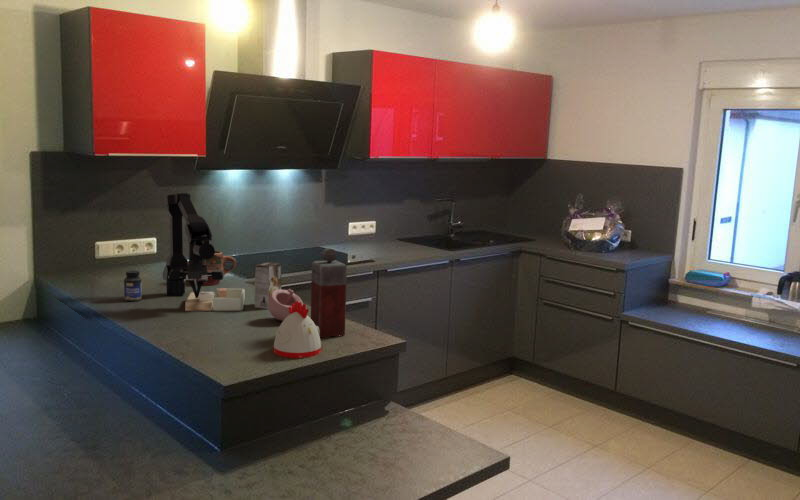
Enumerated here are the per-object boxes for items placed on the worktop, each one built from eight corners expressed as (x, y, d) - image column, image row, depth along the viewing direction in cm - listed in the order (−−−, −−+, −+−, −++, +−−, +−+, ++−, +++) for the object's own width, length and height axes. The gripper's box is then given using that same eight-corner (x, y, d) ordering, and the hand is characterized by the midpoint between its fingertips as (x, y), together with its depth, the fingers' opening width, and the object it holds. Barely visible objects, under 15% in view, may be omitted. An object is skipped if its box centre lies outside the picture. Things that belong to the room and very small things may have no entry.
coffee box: (267, 302, 262) (267, 261, 259) (281, 304, 259) (282, 263, 257) (253, 307, 253) (254, 264, 251) (268, 309, 251) (269, 266, 248)
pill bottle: (125, 302, 253) (124, 273, 251) (123, 299, 258) (122, 270, 256) (142, 301, 255) (142, 272, 254) (140, 298, 261) (140, 269, 259)
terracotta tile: (219, 290, 255) (226, 290, 256) (219, 288, 260) (226, 288, 260) (219, 302, 256) (225, 302, 257) (219, 299, 260) (226, 299, 261)
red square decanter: (333, 327, 230) (335, 245, 226) (345, 335, 220) (347, 250, 216) (307, 329, 226) (309, 245, 222) (318, 338, 216) (320, 250, 212)
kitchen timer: (294, 361, 192) (295, 309, 190) (264, 350, 201) (264, 300, 199) (330, 351, 202) (331, 302, 200) (300, 341, 211) (301, 294, 209)
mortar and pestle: (286, 326, 228) (287, 293, 226) (260, 321, 234) (260, 288, 232) (309, 320, 238) (310, 288, 236) (283, 314, 244) (284, 283, 242)
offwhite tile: (199, 301, 247) (199, 294, 246) (200, 298, 251) (200, 291, 251) (212, 301, 247) (212, 294, 247) (213, 298, 252) (213, 291, 251)
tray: (212, 310, 246) (212, 298, 245) (216, 300, 262) (216, 288, 262) (242, 310, 248) (242, 298, 247) (244, 300, 264) (244, 288, 264)
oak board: (185, 310, 244) (185, 302, 244) (190, 300, 260) (190, 292, 260) (211, 310, 246) (211, 302, 245) (215, 300, 262) (215, 292, 262)
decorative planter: (235, 280, 302) (235, 249, 300) (236, 285, 290) (236, 253, 288) (188, 280, 297) (188, 249, 295) (187, 286, 285) (186, 253, 283)
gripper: (166, 258, 237) (166, 302, 239) (221, 259, 240) (221, 302, 242) (171, 253, 248) (171, 295, 250) (224, 254, 251) (223, 296, 253)
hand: (196, 297), depth 248 cm, fingers closed
